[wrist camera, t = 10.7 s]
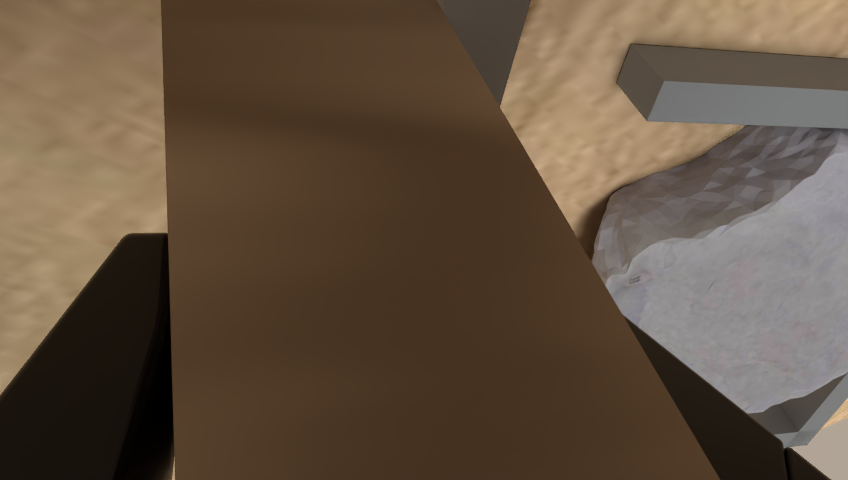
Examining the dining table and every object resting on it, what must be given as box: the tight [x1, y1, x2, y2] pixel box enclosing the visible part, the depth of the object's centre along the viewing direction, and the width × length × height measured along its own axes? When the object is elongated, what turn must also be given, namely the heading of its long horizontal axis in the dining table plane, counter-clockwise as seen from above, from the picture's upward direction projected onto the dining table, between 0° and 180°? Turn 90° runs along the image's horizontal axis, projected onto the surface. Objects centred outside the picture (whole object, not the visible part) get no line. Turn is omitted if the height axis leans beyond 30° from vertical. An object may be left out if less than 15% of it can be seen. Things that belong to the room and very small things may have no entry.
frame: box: [617, 44, 848, 447], centre depth 28 cm, size 16×18×2 cm
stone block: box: [592, 125, 848, 414], centre depth 27 cm, size 12×5×10 cm
